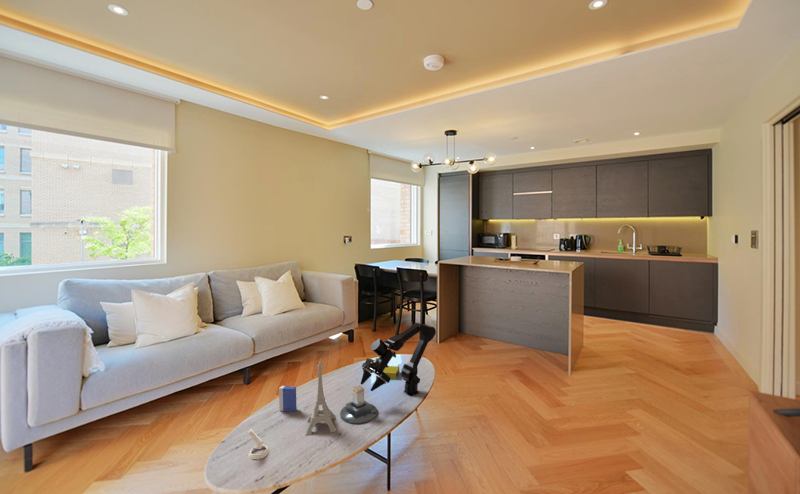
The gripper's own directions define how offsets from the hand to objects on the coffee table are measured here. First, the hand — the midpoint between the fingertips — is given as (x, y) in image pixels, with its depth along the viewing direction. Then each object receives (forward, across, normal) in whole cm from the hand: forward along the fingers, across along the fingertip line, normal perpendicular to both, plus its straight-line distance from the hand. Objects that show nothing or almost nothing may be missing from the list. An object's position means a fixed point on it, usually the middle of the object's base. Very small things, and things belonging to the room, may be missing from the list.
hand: (366, 387), depth 167 cm
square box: (+11, 0, +4) cm, 12 cm away
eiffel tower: (+25, -3, -8) cm, 26 cm away
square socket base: (+12, 0, +5) cm, 13 cm away
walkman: (+30, -25, -13) cm, 41 cm away
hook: (+45, 0, -28) cm, 53 cm away
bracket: (-14, -27, +32) cm, 45 cm away
